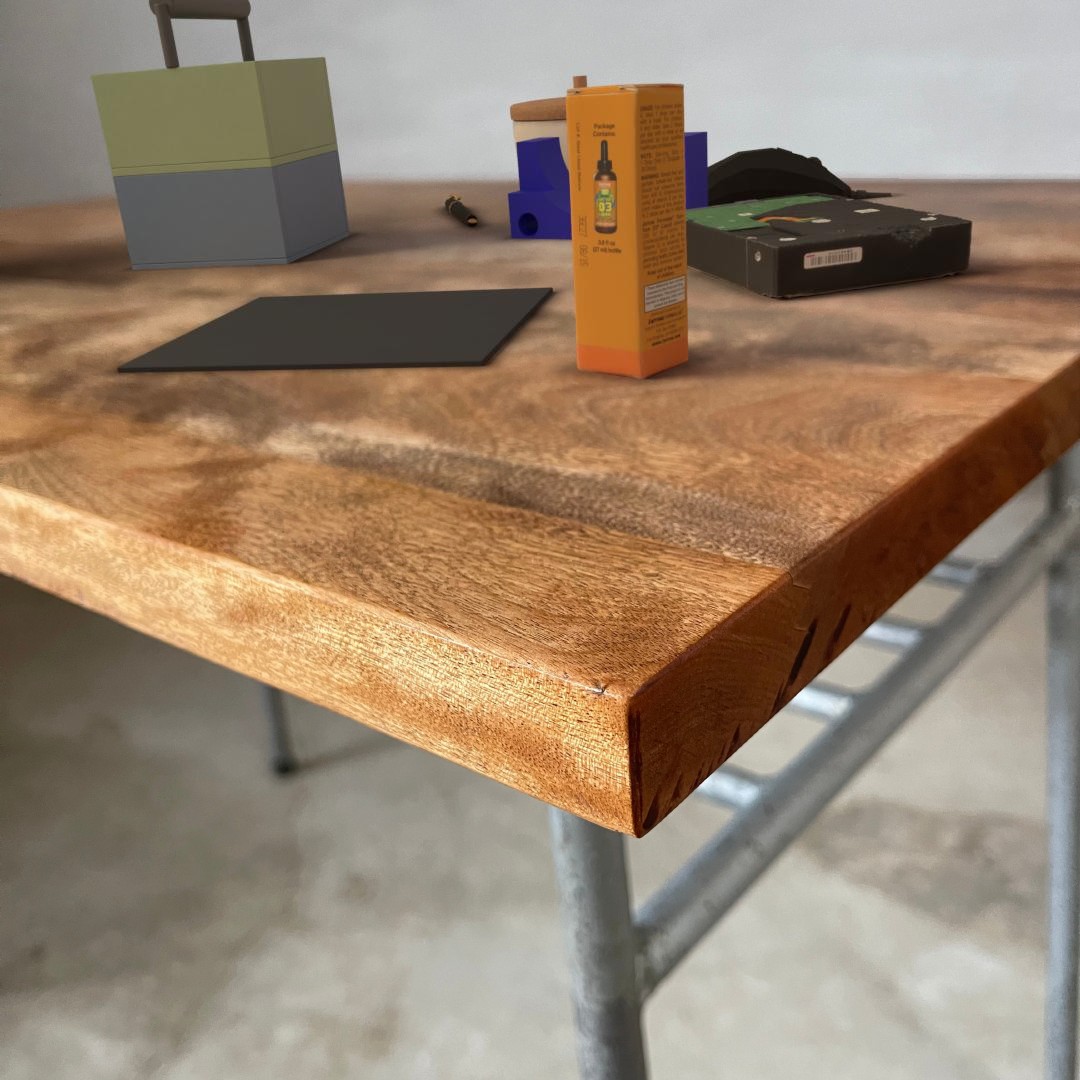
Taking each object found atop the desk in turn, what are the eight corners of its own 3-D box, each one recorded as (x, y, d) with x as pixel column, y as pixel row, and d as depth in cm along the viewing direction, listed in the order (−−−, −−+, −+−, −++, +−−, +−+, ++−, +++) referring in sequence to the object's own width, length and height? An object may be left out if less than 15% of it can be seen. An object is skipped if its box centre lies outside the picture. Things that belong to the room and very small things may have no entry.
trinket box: (498, 219, 83) (486, 84, 80) (543, 199, 93) (535, 77, 89) (637, 215, 80) (631, 74, 76) (670, 194, 89) (666, 67, 85)
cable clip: (511, 240, 73) (503, 144, 71) (546, 229, 77) (539, 137, 74) (679, 243, 67) (677, 138, 65) (708, 231, 71) (707, 131, 69)
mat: (118, 376, 47) (116, 367, 47) (260, 304, 60) (259, 296, 59) (482, 370, 44) (481, 360, 43) (553, 295, 56) (552, 287, 56)
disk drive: (974, 280, 53) (815, 237, 66) (979, 219, 51) (816, 187, 65) (775, 309, 50) (651, 258, 63) (776, 245, 49) (650, 207, 62)
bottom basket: (132, 272, 73) (112, 176, 71) (211, 244, 83) (195, 159, 80) (288, 266, 71) (272, 167, 68) (350, 237, 80) (338, 150, 78)
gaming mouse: (903, 204, 75) (906, 142, 74) (683, 220, 76) (681, 158, 74) (879, 193, 81) (882, 135, 79) (675, 208, 82) (673, 150, 80)
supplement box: (697, 362, 42) (692, 78, 38) (643, 384, 40) (631, 85, 36) (628, 352, 45) (616, 82, 41) (572, 373, 42) (554, 89, 38)
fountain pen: (484, 232, 78) (482, 210, 78) (468, 233, 78) (466, 211, 78) (456, 209, 91) (454, 190, 91) (441, 211, 91) (439, 192, 91)
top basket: (110, 177, 71) (71, -4, 66) (196, 158, 81) (167, 1, 76) (271, 167, 68) (240, -21, 64) (339, 149, 78) (316, -14, 74)
